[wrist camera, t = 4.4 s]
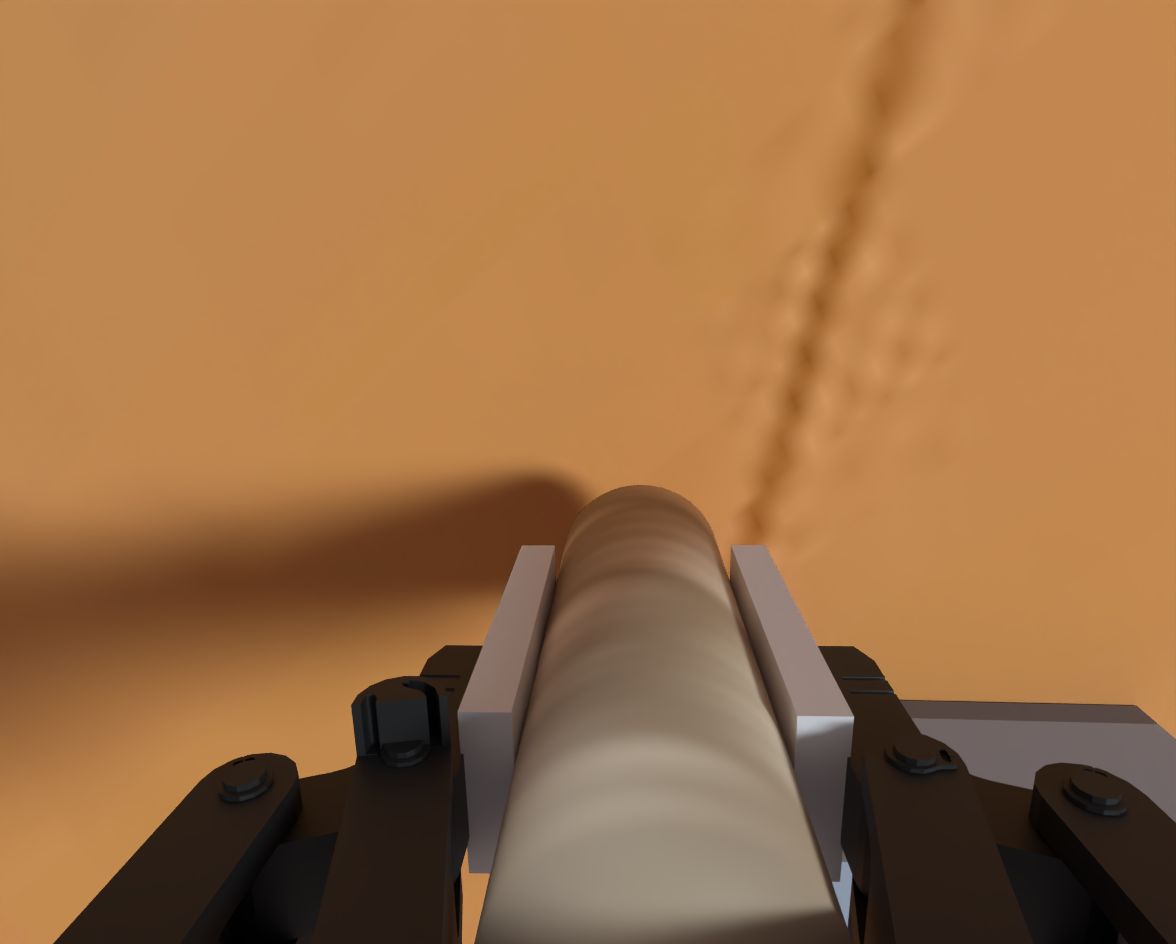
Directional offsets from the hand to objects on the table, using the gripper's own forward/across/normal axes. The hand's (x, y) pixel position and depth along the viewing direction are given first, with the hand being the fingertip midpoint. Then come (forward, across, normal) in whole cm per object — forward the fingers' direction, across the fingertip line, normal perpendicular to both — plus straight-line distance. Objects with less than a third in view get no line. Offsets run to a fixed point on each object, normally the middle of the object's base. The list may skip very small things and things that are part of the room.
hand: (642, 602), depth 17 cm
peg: (+3, 0, 0) cm, 3 cm away
